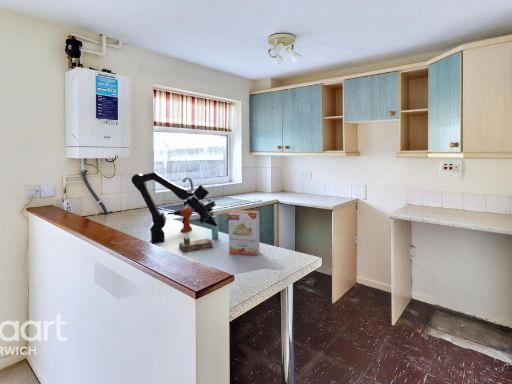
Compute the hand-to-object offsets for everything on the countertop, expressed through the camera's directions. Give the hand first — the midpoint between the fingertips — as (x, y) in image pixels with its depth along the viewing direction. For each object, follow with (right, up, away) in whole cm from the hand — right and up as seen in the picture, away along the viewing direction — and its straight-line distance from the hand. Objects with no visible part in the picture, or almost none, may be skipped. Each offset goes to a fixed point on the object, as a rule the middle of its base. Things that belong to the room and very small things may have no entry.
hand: (217, 224), depth 182 cm
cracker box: (+16, -12, -25) cm, 32 cm away
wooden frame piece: (-9, -10, -15) cm, 21 cm away
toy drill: (-24, -7, +15) cm, 29 cm away
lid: (-9, -8, -15) cm, 19 cm away
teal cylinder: (-1, -8, +1) cm, 8 cm away
